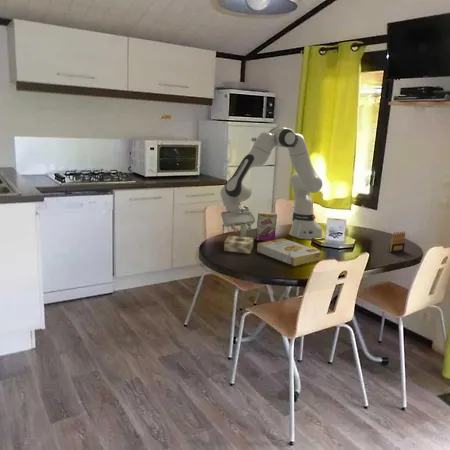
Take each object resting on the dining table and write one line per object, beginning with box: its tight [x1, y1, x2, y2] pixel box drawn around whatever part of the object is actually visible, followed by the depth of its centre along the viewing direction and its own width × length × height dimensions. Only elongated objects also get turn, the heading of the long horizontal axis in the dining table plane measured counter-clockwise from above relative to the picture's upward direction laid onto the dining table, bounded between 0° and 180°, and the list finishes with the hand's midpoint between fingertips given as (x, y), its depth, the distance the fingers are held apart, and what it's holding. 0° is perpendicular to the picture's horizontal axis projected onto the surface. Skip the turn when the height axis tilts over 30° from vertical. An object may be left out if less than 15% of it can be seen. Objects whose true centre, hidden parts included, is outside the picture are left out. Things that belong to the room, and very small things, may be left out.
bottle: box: [239, 222, 248, 237], centre depth 254 cm, size 4×4×12 cm
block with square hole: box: [223, 235, 255, 254], centre depth 243 cm, size 14×14×5 cm
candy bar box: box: [255, 211, 278, 242], centre depth 261 cm, size 11×5×16 cm, turn 84°
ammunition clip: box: [388, 230, 406, 254], centre depth 255 cm, size 11×2×12 cm, turn 120°
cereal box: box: [256, 237, 322, 267], centre depth 235 cm, size 20×6×28 cm
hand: (243, 231), depth 254 cm, fingers open, 8 cm apart
